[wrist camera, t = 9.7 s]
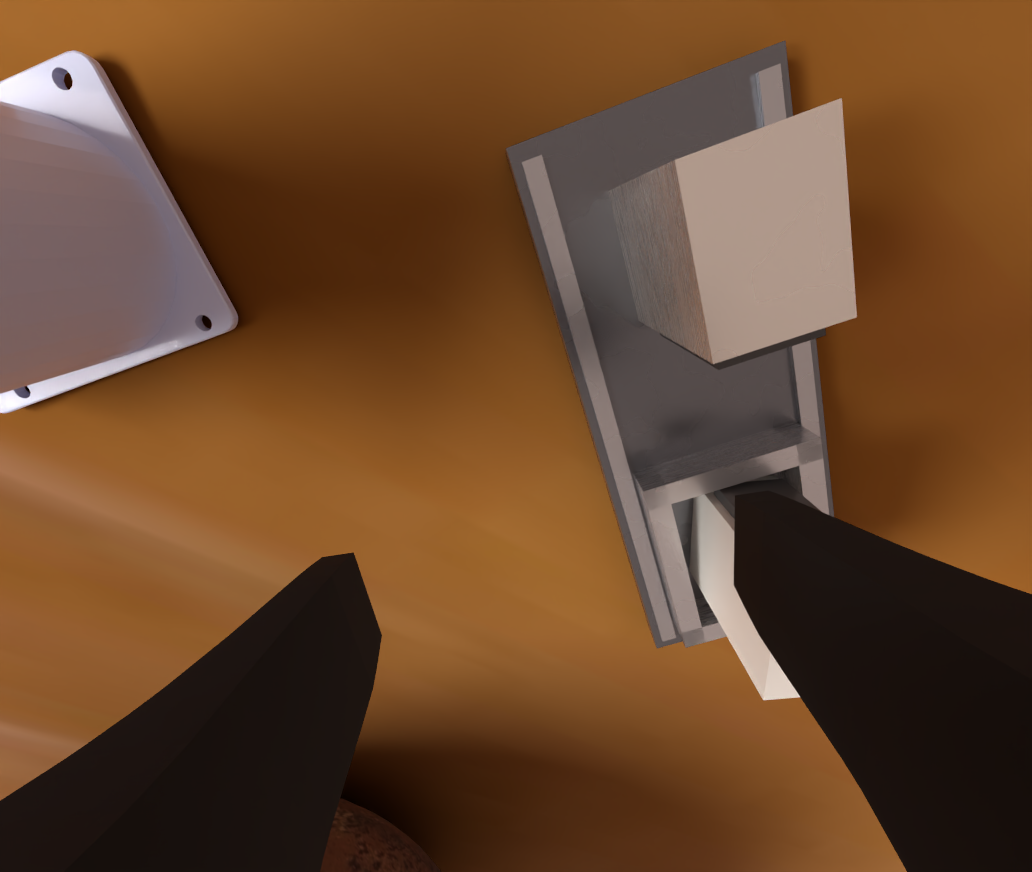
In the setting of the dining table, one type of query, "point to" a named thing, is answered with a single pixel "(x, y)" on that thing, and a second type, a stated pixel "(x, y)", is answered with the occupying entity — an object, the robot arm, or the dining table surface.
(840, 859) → the dining table surface
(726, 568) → the block
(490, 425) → the dining table surface
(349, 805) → the pottery
